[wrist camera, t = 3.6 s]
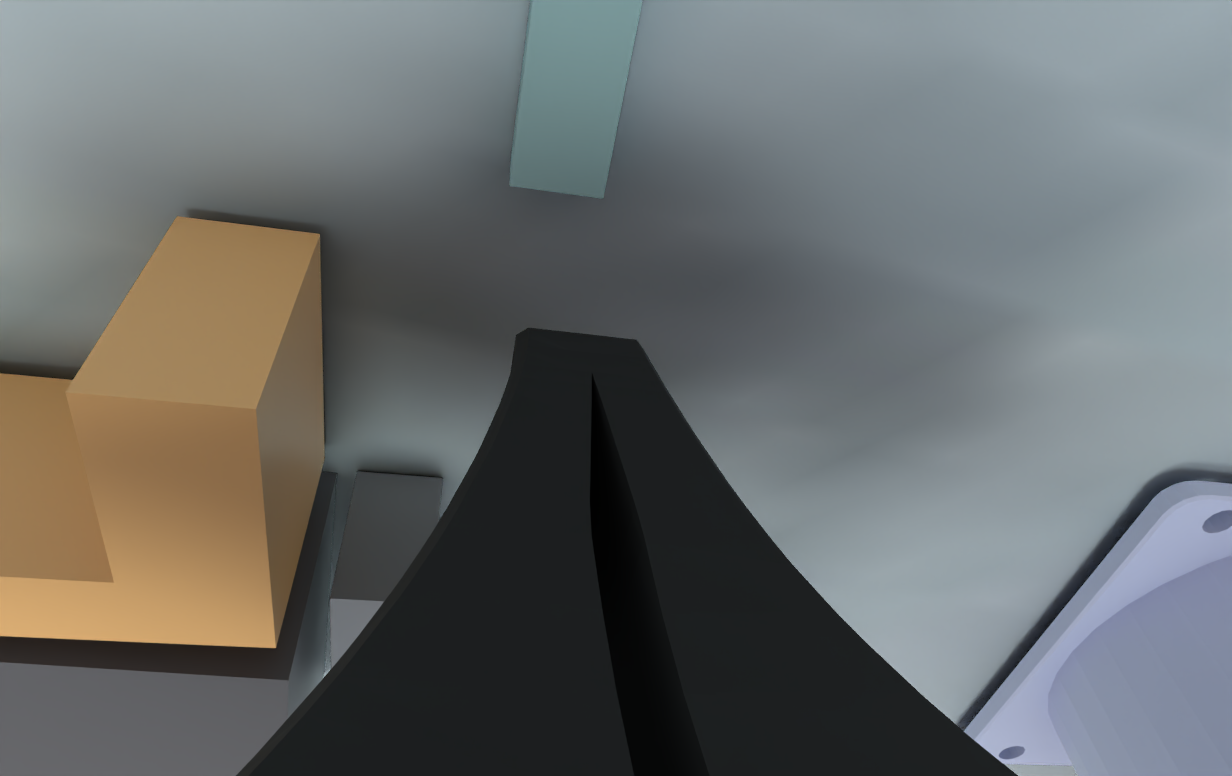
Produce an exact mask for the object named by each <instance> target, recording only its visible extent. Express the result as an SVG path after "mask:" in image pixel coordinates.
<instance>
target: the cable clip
mask: <svg viewBox="0 0 1232 776" xmlns="http://www.w3.org/2000/svg"><path fill="white" fill-rule="evenodd" d="M442 483H443V478H435V477H422V476H409V475H397V474H384V473H371V472H359V471H357V474H356V478H355V483H354V488H353V492H352V497H351V502H350V506H349V511H348V516H347V521H346V525H345V530H344V535H343V539H342V544H341V549H340V553H339V558H338V563H337V567H336V572H335V577H334V581H333V586H332V591H331V596H330V633H331V669H332V668H333V666H334V665H335V664H336V663H337V662H338V660H339V659H340V658H341V657H342V655H343V654H344V653H345V652H346V650H347V649H348V648H349V647H350V645H351V644H352V643H353V642H354V640H355V639H356V638H357V637H358V635H359V634H360V633H361V632H362V630H363V629H364V628H365V626H366V625H367V624H368V622H369V621H370V620H371V618H372V617H373V616H374V614H375V613H376V612H377V610H378V609H379V608H380V606H381V605H382V604H383V602H384V601H385V600H386V598H387V597H388V596H389V594H390V593H391V592H392V590H393V589H394V588H395V586H396V585H397V584H398V582H399V581H400V579H401V578H402V577H403V575H404V574H405V572H406V571H407V569H408V568H409V566H410V565H411V563H412V562H413V560H414V559H415V558H416V556H417V555H418V553H419V552H420V550H421V549H422V547H423V546H424V544H425V543H426V541H427V540H428V538H429V536H430V535H431V533H432V532H433V530H434V529H435V527H436V525H437V524H438V522H439V515H440V504H441V494H442Z"/></svg>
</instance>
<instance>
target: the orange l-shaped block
mask: <svg viewBox="0 0 1232 776" xmlns="http://www.w3.org/2000/svg"><path fill="white" fill-rule="evenodd" d="M324 459H325V448H324V401H323V353H322V305H321V258H320V234H316V233H308V232H300V231H292V230H284V229H276V228H268V227H260V226H252V225H244V224H236V223H228V222H220V221H212V220H203V219H195V218H187V217H179V216H177V217H176V218H175V220H174V222H173V223H172V225H171V226H170V228H169V229H168V231H167V233H166V234H165V236H164V237H163V239H162V240H161V242H160V244H159V245H158V247H157V248H156V250H155V251H154V253H153V255H152V256H151V258H150V259H149V261H148V262H147V264H146V266H145V267H144V269H143V270H142V272H141V274H140V275H139V277H138V278H137V280H136V281H135V283H134V285H133V286H132V288H131V289H130V291H129V292H128V294H127V296H126V297H125V299H124V300H123V302H122V303H121V305H120V307H119V308H118V310H117V311H116V313H115V314H114V316H113V318H112V319H111V321H110V322H109V324H108V326H107V327H106V329H105V330H104V332H103V333H102V335H101V337H100V338H99V340H98V341H97V343H96V344H95V346H94V348H93V349H92V351H91V352H90V354H89V355H88V357H87V359H86V360H85V362H84V363H83V365H82V366H81V368H80V370H79V371H78V373H77V374H76V376H75V377H74V379H73V380H68V379H57V378H46V377H35V376H24V375H13V374H2V373H0V636H11V637H33V638H56V639H78V640H101V641H123V642H146V643H169V644H191V645H214V646H236V647H259V648H276V646H277V642H278V638H279V634H280V630H281V627H282V623H283V619H284V615H285V611H286V607H287V603H288V599H289V595H290V592H291V588H292V584H293V580H294V576H295V572H296V568H297V564H298V560H299V557H300V553H301V549H302V545H303V541H304V537H305V533H306V529H307V525H308V522H309V518H310V514H311V510H312V506H313V502H314V498H315V494H316V490H317V487H318V483H319V479H320V475H321V471H322V467H323V463H324Z"/></svg>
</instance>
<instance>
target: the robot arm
mask: <svg viewBox="0 0 1232 776" xmlns="http://www.w3.org/2000/svg"><path fill="white" fill-rule="evenodd" d="M1004 764H1025V765H1064V766H1073V767H1074V769H1075V771H1076V773H1077V775H1078V776H1232V484H1229V483H1219V482H1208V481H1183V482H1180V483H1177V484H1173V485H1171V486H1169V487H1167V488H1166V489H1164V490H1162V491H1161V492H1160V493H1158V494H1157V495H1156V496H1155V497H1154V498H1153V499H1152V500H1151V502H1150V503H1149V504H1148V505H1147V506H1146V508H1145V509H1144V510H1143V511H1142V513H1141V514H1140V515H1139V516H1138V518H1137V519H1136V520H1135V521H1134V522H1133V524H1132V525H1131V526H1130V527H1129V529H1128V530H1127V531H1126V532H1125V534H1124V535H1123V536H1122V537H1121V538H1120V540H1119V541H1118V542H1117V543H1116V545H1115V546H1114V547H1113V548H1112V550H1111V551H1110V552H1109V553H1108V554H1107V556H1106V557H1105V558H1104V559H1103V561H1102V562H1101V563H1100V564H1099V565H1098V567H1097V568H1096V569H1095V570H1094V572H1093V573H1092V574H1091V575H1090V577H1089V578H1088V579H1087V580H1086V581H1085V583H1084V584H1083V585H1082V586H1081V588H1080V589H1079V590H1078V591H1077V593H1076V594H1075V595H1074V596H1073V597H1072V599H1071V600H1070V601H1069V602H1068V604H1067V605H1066V606H1065V607H1064V609H1063V610H1062V611H1061V612H1060V613H1059V615H1058V616H1057V617H1056V618H1055V620H1054V621H1053V622H1052V623H1051V624H1050V626H1049V627H1048V628H1047V629H1046V631H1045V632H1044V633H1043V634H1042V636H1041V637H1040V638H1039V639H1038V640H1037V642H1036V643H1035V644H1034V645H1033V647H1032V648H1031V649H1030V650H1029V652H1028V653H1027V654H1026V655H1025V656H1024V658H1023V659H1022V660H1021V661H1020V663H1019V664H1018V665H1017V666H1016V668H1015V669H1014V670H1013V671H1012V672H1011V674H1010V675H1009V676H1008V677H1007V679H1006V680H1005V681H1004V682H1003V683H1002V685H1001V686H1000V687H999V688H998V690H997V691H996V692H995V693H994V695H993V696H992V697H991V698H990V699H989V701H988V702H987V703H986V704H985V706H984V707H983V708H982V709H981V711H980V712H979V713H978V714H977V715H976V717H975V718H974V719H973V720H972V722H971V723H970V724H969V725H968V727H967V728H966V729H965V730H964V731H963V730H961V729H960V728H959V727H958V726H957V725H956V724H954V723H953V722H952V721H951V720H950V719H949V718H948V717H946V716H945V715H944V714H943V713H942V712H941V711H940V710H938V709H937V708H936V707H935V706H934V705H933V704H931V703H930V702H929V701H928V700H927V699H926V698H925V697H924V696H922V695H921V694H920V693H919V692H918V691H917V690H916V689H915V688H914V687H913V686H912V685H911V684H910V683H908V682H907V681H906V680H905V679H904V678H903V677H902V676H901V675H900V674H899V673H898V672H897V671H896V670H895V669H894V668H892V667H891V666H890V665H889V664H888V663H887V662H886V661H885V660H884V659H883V658H882V657H881V656H880V655H879V654H878V653H876V652H875V651H874V650H873V649H872V648H871V647H870V646H869V645H868V644H867V643H866V642H865V641H864V640H863V639H862V638H861V637H860V636H859V635H858V634H857V633H856V632H855V631H854V630H853V629H852V628H851V627H850V626H849V625H848V624H847V623H846V622H845V621H844V620H843V619H842V618H841V617H840V616H839V615H838V614H837V613H836V612H835V611H834V610H833V608H832V607H831V606H830V605H829V604H828V603H827V602H826V601H825V600H824V599H823V598H822V596H821V595H820V594H819V593H818V592H817V591H816V590H815V589H814V588H813V587H812V586H811V585H810V583H809V582H808V581H807V580H806V579H805V578H804V577H803V576H802V575H801V574H800V573H799V571H798V570H797V569H796V568H795V567H794V566H793V565H792V564H791V562H790V561H789V560H788V559H787V558H786V556H785V555H784V554H783V553H782V552H781V550H780V549H779V548H778V547H777V546H776V544H775V543H774V542H773V541H772V539H771V538H770V537H769V536H768V534H767V533H766V532H765V530H764V529H763V528H762V527H761V525H760V524H759V523H758V521H757V520H756V519H755V518H754V516H753V515H752V514H751V513H750V511H749V510H748V509H747V507H746V506H745V505H744V503H743V502H742V501H741V499H740V498H739V497H738V495H737V494H736V492H735V491H734V490H733V488H732V487H731V486H730V484H729V483H728V482H727V480H726V479H725V477H724V476H723V474H722V473H721V471H720V470H719V468H718V467H717V466H716V464H715V463H714V461H713V460H712V458H711V457H710V455H709V454H708V453H707V451H706V450H705V448H704V447H703V445H702V444H701V442H700V441H699V439H698V438H697V436H696V435H695V433H694V432H693V430H692V429H691V427H690V426H689V424H688V422H687V421H686V419H685V418H684V416H683V414H682V413H681V411H680V410H679V408H678V406H677V405H676V403H675V402H674V400H673V398H672V397H671V395H670V394H669V392H668V390H667V389H666V387H665V385H664V384H663V382H662V380H661V379H660V377H659V375H658V373H657V372H656V370H655V368H654V367H653V365H652V363H651V362H650V360H649V358H648V356H647V355H646V353H645V351H644V350H643V348H642V347H641V346H640V344H639V343H638V341H637V340H634V339H625V338H616V337H607V336H597V335H588V334H579V333H570V332H561V331H552V330H543V329H534V328H527V329H525V330H524V331H522V332H520V333H519V334H517V335H516V340H515V347H514V354H513V361H512V367H511V373H510V377H509V380H508V383H507V385H506V388H505V391H504V394H503V397H502V399H501V402H500V405H499V407H498V409H497V411H496V414H495V416H494V418H493V420H492V423H491V425H490V427H489V429H488V431H487V434H486V436H485V438H484V440H483V443H482V445H481V447H480V449H479V451H478V453H477V455H476V457H475V459H474V461H473V463H472V464H471V466H470V468H469V470H468V472H467V473H466V475H465V477H464V479H463V480H462V482H461V484H460V486H459V488H458V489H457V491H456V493H455V495H454V497H453V498H452V500H451V502H450V504H449V506H448V507H447V509H446V511H445V512H444V514H443V516H442V517H441V519H440V521H439V522H438V524H437V525H436V527H435V529H434V530H433V532H432V533H431V535H430V536H429V538H428V540H427V541H426V543H425V544H424V546H423V547H422V549H421V550H420V552H419V553H418V555H417V556H416V558H415V559H414V560H413V562H412V563H411V565H410V566H409V568H408V569H407V571H406V572H405V574H404V575H403V577H402V578H401V579H400V581H399V582H398V584H397V585H396V586H395V588H394V589H393V590H392V592H391V593H390V594H389V596H388V597H387V598H386V600H385V601H384V602H383V604H382V605H381V606H380V608H379V609H378V610H377V612H376V613H375V614H374V616H373V617H372V618H371V620H370V621H369V622H368V624H367V625H366V626H365V628H364V629H363V630H362V632H361V633H360V634H359V635H358V637H357V638H356V639H355V640H354V642H353V643H352V644H351V645H350V647H349V648H348V649H347V650H346V652H345V653H344V654H343V655H342V657H341V658H340V659H339V660H338V662H337V663H336V664H335V665H334V666H333V668H332V669H331V670H330V671H329V672H328V674H327V675H326V676H325V677H324V678H323V679H322V680H321V682H320V683H319V684H318V685H317V686H316V687H315V688H314V689H313V691H312V692H311V693H310V694H309V695H308V696H307V697H306V698H305V700H304V701H303V702H302V703H301V704H300V705H299V706H298V708H297V709H296V710H295V711H294V712H293V713H292V714H291V715H290V717H289V718H288V719H287V720H286V721H285V722H284V723H283V725H282V726H281V727H280V728H279V729H278V730H277V731H276V732H275V734H274V735H273V736H272V737H271V738H270V739H269V740H268V742H267V743H266V744H265V745H264V746H263V747H262V748H261V749H260V751H259V752H258V753H257V754H256V755H255V756H254V757H253V758H252V759H251V760H250V761H249V762H248V763H247V764H246V766H245V767H244V768H243V769H242V770H241V771H240V772H239V773H238V774H237V775H236V776H1018V775H1016V774H1015V773H1014V772H1013V771H1011V770H1010V769H1009V768H1008V767H1006V766H1005V765H1004Z"/></svg>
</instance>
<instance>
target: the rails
mask: <svg viewBox="0 0 1232 776" xmlns="http://www.w3.org/2000/svg"><path fill="white" fill-rule="evenodd" d="M642 2H643V0H530V7H529V15H528V23H527V31H526V39H525V47H524V55H523V63H522V71H521V79H520V88H519V96H518V104H517V112H516V120H515V128H514V136H513V144H512V152H511V160H510V185H509V186H513V187H520V188H528V189H535V190H542V191H549V192H557V193H564V194H571V195H578V196H585V197H593V198H600V199H603V198H604V193H605V188H606V183H607V178H608V173H609V167H610V162H611V157H612V152H613V147H614V142H615V137H616V132H617V127H618V122H619V117H620V112H621V107H622V102H623V97H624V92H625V87H626V82H627V77H628V72H629V67H630V62H631V57H632V52H633V47H634V42H635V37H636V32H637V27H638V22H639V17H640V12H641V7H642Z"/></svg>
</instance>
